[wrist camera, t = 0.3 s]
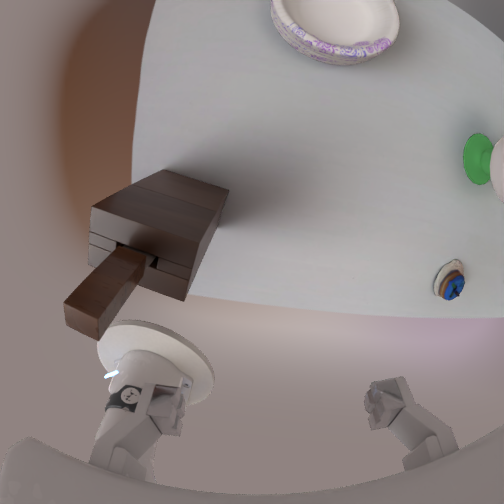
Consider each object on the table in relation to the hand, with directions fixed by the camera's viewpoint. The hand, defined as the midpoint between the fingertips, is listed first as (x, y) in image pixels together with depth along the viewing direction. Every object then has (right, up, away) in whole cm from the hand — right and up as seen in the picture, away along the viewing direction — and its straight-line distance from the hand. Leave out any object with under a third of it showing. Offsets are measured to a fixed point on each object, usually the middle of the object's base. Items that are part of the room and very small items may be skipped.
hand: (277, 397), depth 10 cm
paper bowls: (+9, +37, +16) cm, 41 cm away
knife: (-10, +9, +19) cm, 23 cm away
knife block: (-10, +13, +28) cm, 32 cm away
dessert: (+36, +1, +31) cm, 48 cm away
